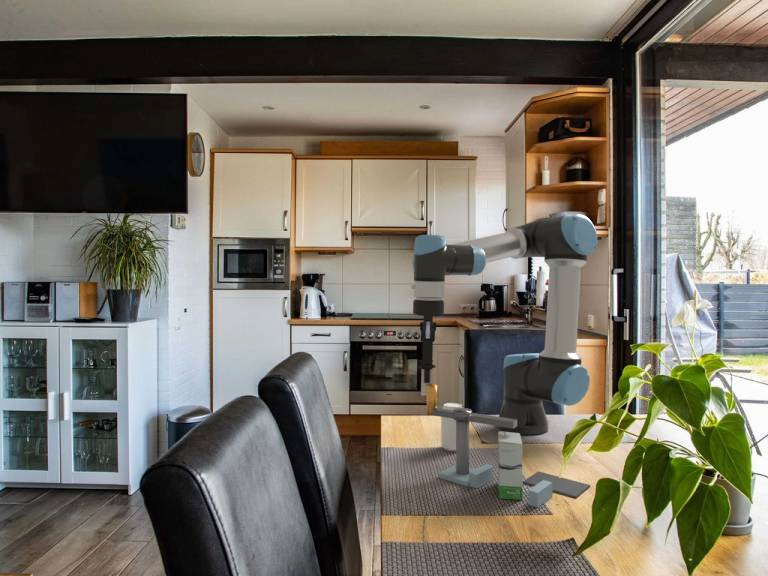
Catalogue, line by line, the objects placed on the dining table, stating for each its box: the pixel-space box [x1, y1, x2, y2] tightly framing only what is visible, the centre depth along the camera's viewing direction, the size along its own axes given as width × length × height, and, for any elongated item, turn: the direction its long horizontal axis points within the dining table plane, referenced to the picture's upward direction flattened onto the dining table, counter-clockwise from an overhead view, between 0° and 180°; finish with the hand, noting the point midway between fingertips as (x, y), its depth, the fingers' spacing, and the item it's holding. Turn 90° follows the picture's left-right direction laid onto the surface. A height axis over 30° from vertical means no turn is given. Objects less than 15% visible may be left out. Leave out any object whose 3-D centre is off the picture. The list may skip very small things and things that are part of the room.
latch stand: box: [437, 421, 554, 508], centre depth 110 cm, size 8×24×13 cm, turn 48°
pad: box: [522, 471, 591, 499], centre depth 110 cm, size 8×12×1 cm, turn 48°
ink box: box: [497, 431, 523, 501], centre depth 107 cm, size 9×5×12 cm, turn 168°
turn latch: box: [426, 383, 517, 429], centre depth 114 cm, size 4×22×7 cm, turn 56°
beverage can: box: [440, 402, 463, 452], centre depth 135 cm, size 6×6×12 cm
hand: (426, 395), depth 121 cm, fingers closed
